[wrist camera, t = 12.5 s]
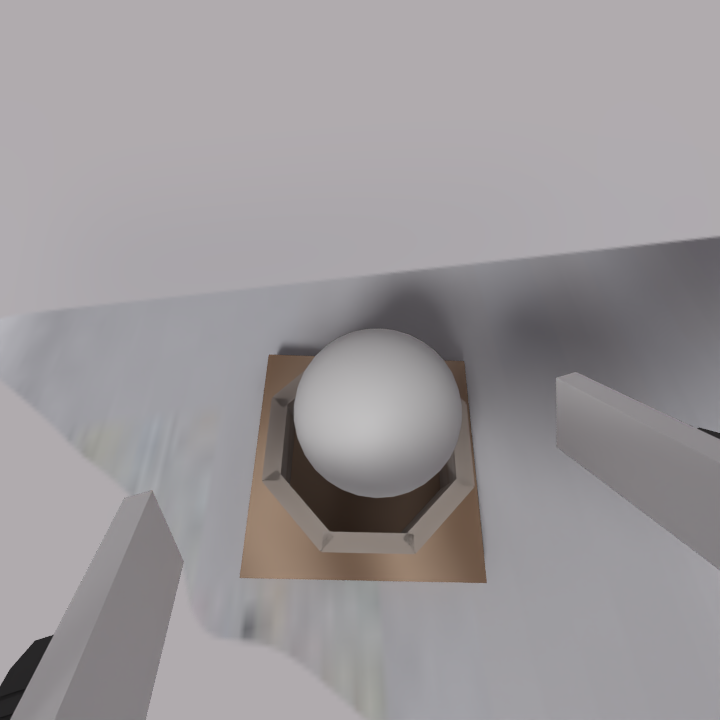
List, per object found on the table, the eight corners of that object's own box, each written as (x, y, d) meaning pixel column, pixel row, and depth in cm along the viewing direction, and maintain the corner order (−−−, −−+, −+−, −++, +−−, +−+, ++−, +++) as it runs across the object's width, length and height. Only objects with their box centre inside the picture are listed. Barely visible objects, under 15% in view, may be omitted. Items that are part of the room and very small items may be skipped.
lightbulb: (314, 404, 23) (294, 289, 14) (419, 408, 24) (475, 298, 14) (304, 517, 21) (271, 475, 11) (423, 521, 21) (497, 484, 11)
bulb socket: (458, 370, 26) (481, 333, 22) (477, 581, 21) (514, 588, 17) (272, 364, 26) (257, 325, 21) (246, 576, 21) (219, 582, 16)
